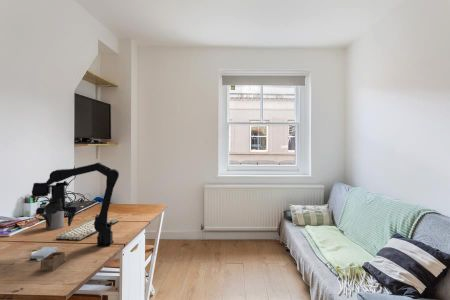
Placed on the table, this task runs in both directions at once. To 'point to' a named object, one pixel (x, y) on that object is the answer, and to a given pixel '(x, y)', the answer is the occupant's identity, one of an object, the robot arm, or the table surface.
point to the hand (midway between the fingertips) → (59, 226)
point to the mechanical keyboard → (82, 231)
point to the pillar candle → (56, 221)
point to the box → (52, 261)
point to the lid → (43, 252)
